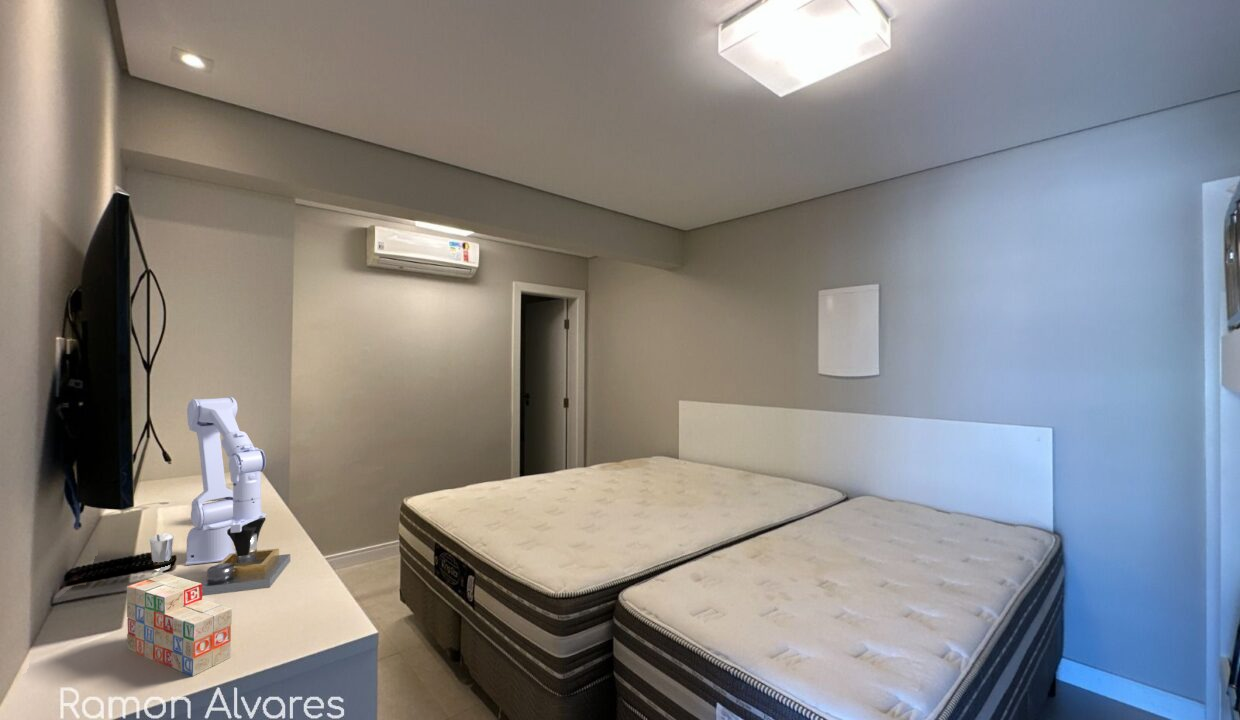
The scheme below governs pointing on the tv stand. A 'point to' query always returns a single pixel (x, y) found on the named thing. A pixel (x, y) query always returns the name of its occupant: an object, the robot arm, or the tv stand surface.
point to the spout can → (252, 552)
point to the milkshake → (162, 548)
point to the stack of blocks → (177, 624)
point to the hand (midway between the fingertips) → (246, 551)
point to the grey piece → (245, 573)
